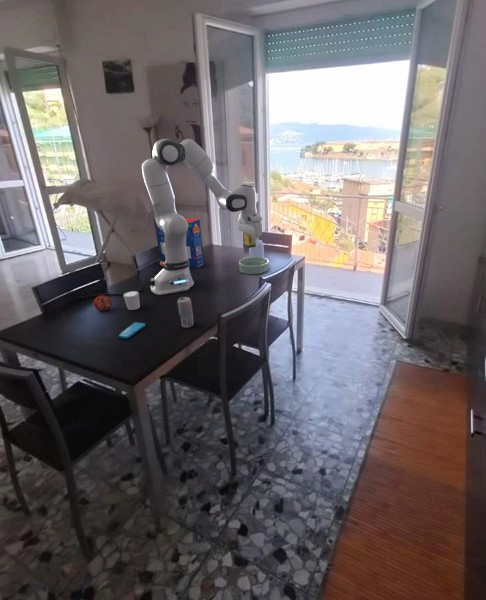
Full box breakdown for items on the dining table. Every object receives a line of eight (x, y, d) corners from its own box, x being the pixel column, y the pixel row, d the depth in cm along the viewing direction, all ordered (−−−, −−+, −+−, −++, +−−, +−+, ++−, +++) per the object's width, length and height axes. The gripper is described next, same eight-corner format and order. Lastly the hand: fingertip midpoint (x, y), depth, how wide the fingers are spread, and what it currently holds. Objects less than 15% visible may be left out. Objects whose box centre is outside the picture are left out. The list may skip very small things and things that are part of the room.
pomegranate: (95, 314, 167) (92, 309, 157) (94, 299, 168) (91, 293, 159) (112, 312, 169) (110, 308, 160) (112, 298, 171) (109, 292, 162)
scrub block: (248, 247, 196) (248, 235, 193) (244, 246, 199) (244, 233, 196) (255, 246, 198) (255, 234, 195) (251, 244, 202) (251, 232, 199)
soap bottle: (263, 260, 223) (262, 221, 213) (249, 261, 224) (247, 222, 213) (264, 256, 232) (262, 218, 221) (250, 256, 232) (248, 219, 222)
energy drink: (188, 320, 153) (185, 295, 148) (196, 324, 150) (193, 298, 145) (178, 325, 149) (174, 299, 144) (186, 329, 146) (182, 303, 141)
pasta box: (204, 264, 220) (199, 219, 208) (196, 268, 214) (191, 222, 202) (169, 259, 232) (162, 216, 220) (161, 263, 225) (153, 219, 213)
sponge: (114, 335, 141) (125, 336, 139) (134, 321, 152) (145, 322, 149) (115, 338, 142) (126, 339, 140) (135, 324, 152) (146, 325, 150)
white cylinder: (125, 311, 163) (122, 297, 160) (126, 305, 169) (123, 292, 166) (141, 309, 165) (138, 295, 162) (141, 303, 171) (139, 290, 168)
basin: (248, 277, 199) (248, 268, 196) (233, 268, 212) (233, 260, 210) (274, 270, 207) (274, 262, 205) (258, 262, 221) (258, 254, 219)
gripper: (234, 213, 198) (235, 238, 204) (253, 219, 182) (254, 245, 188) (244, 212, 201) (245, 236, 207) (263, 218, 186) (264, 243, 191)
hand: (249, 241), depth 197 cm, fingers closed on scrub block, 4 cm apart
